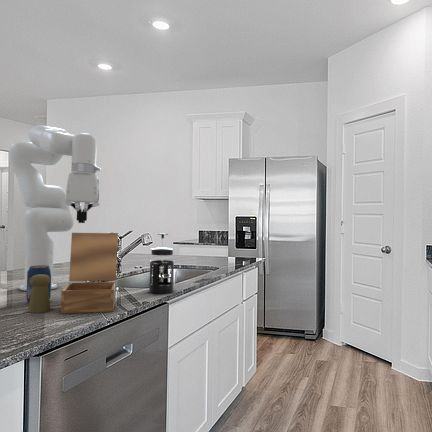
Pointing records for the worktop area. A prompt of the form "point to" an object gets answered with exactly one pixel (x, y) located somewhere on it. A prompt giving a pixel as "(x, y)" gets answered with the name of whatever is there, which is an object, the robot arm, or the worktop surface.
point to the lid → (93, 257)
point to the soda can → (36, 271)
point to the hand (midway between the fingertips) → (81, 222)
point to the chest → (88, 297)
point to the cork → (39, 294)
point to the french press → (163, 286)
